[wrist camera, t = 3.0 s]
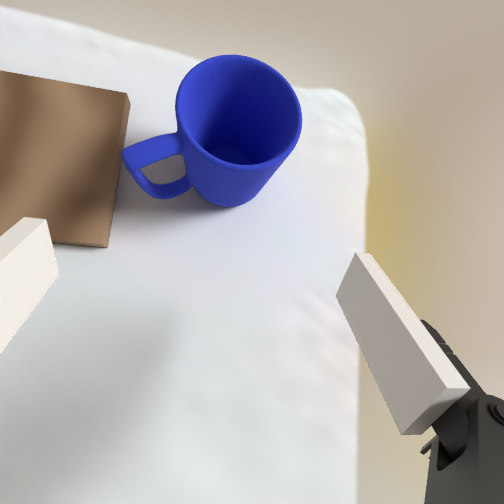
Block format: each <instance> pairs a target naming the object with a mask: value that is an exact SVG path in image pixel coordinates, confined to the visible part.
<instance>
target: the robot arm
mask: <svg viewBox="0 0 504 504" xmlns="http://www.w3.org/2000/svg"><path fill="white" fill-rule="evenodd" d="M59 274H60V273H59V269H58V265H57V261H56V257H55V253H54V249H53V245H52V241H51V237H50V233H49V229H48V225H47V221H46V219H39V218H29V217H24V218H22V219H21V220H20V221H19V222H17V223H16V224H15V225H14V226H13V227H11V228H10V229H9V230H8V231H6V232H5V233H4V234H3V235H1V236H0V354H1V352H2V351H3V350H4V348H5V347H6V346H7V344H8V343H9V342H10V340H11V339H12V338H13V336H14V335H15V333H16V332H17V331H18V329H19V328H20V327H21V325H22V324H23V323H24V321H25V320H26V319H27V317H28V316H29V315H30V313H31V312H32V311H33V309H34V308H35V307H36V305H37V304H38V303H39V301H40V300H41V299H42V297H43V296H44V295H45V293H46V292H47V291H48V289H49V288H50V287H51V285H52V284H53V283H54V281H55V280H56V278H57V277H58V276H59ZM336 298H337V300H338V302H339V304H340V306H341V308H342V310H343V312H344V315H345V317H346V319H347V321H348V323H349V325H350V327H351V329H352V332H353V334H354V336H355V338H356V340H357V342H358V344H359V346H360V349H361V351H362V353H363V355H364V357H365V359H366V361H367V363H368V366H369V368H370V370H371V372H372V374H373V376H374V378H375V380H376V382H377V384H378V387H379V389H380V391H381V393H382V395H383V397H384V399H385V401H386V403H387V406H388V408H389V410H390V412H391V414H392V416H393V419H394V421H395V423H396V425H397V427H398V429H399V431H400V433H401V435H414V434H415V435H419V434H420V435H421V434H422V433H424V432H425V431H426V430H427V429H428V428H429V427H430V426H431V425H432V427H433V429H434V431H435V432H436V434H437V435H436V436H435V437H434V438H433V439H431V440H430V441H429V442H428V443H427V444H426V445H425V446H423V448H422V449H421V452H420V453H422V454H425V453H426V452H427V451H428V450H430V449H431V454H430V457H429V459H430V462H429V470H428V479H427V487H426V494H425V503H424V504H504V400H502V399H500V398H497V397H495V396H493V395H487V394H486V393H485V392H484V391H483V390H482V389H481V387H480V386H479V385H478V383H477V382H476V381H475V379H474V378H473V377H472V376H471V374H470V373H469V372H468V370H467V369H466V368H465V367H464V365H463V364H462V363H461V362H460V360H459V359H458V358H457V356H456V355H454V354H453V351H452V350H451V349H450V347H449V346H448V345H446V344H445V343H446V342H445V341H444V340H443V338H442V337H441V336H440V335H439V333H438V332H437V331H436V330H435V329H434V328H432V326H430V325H429V324H428V323H427V322H425V321H424V320H419V319H418V317H417V316H416V315H415V313H414V312H413V311H412V309H411V308H410V307H409V305H408V304H407V302H406V301H405V300H404V298H403V297H402V296H401V294H400V293H399V292H398V290H397V289H396V288H395V286H394V285H393V284H392V282H391V281H390V280H389V278H388V277H387V276H386V274H385V273H384V272H383V270H382V269H381V268H380V266H379V265H378V264H377V262H376V261H375V260H374V258H373V257H372V256H371V254H366V253H357V252H355V254H354V257H353V259H352V261H351V263H350V265H349V268H348V270H347V272H346V274H345V276H344V278H343V281H342V283H341V285H340V287H339V289H338V292H337V294H336Z"/></svg>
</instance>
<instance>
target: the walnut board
mask: <svg viewBox="0 0 504 504" xmlns="http://www.w3.org/2000/svg"><path fill="white" fill-rule="evenodd" d="M129 110H130V102H129V99H128V96H127V93H123V92H118V91H112V90H106V89H101V88H95V87H90V86H84V85H79V84H73V83H67V82H62V81H56V80H51V79H45V78H39V77H34V76H28V75H23V74H17V73H11V72H6V71H0V236H1V235H3V234H4V233H5V232H6V231H8V230H9V229H10V228H11V227H13V226H14V225H15V224H16V223H17V222H19V221H20V220H21V219H22V218H24V217H29V218H39V219H46V221H47V225H48V229H49V233H50V237H51V241H52V243H62V244H73V245H84V246H95V247H106V248H108V242H109V236H110V229H111V223H112V217H113V210H114V204H115V198H116V192H117V185H118V179H119V173H120V167H121V160H122V156H121V153H122V150H123V148H124V141H125V135H126V129H127V123H128V116H129Z"/></svg>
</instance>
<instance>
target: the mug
mask: <svg viewBox="0 0 504 504" xmlns="http://www.w3.org/2000/svg"><path fill="white" fill-rule="evenodd" d="M175 111H176V119H177V132H176V133H171V134H164V135H160V136H156V137H153V138H150V139H147V140H144V141H141V142H138V143H136V144H134V145H131V146H129V147H127V148H125V149H123V150H122V153H121V156H122V159H123V162H124V164H125V166H126V168H127V170H128V171H129V173H130V174H131V175H132V177H133V178H134V179H135V181H136V182H137V183H138V184H139V186H140V187H141V188H142V189H143V190H144V191H145V192H146V193H148V194H149V195H150V196H152V197H154V198H157V199H169V198H173V197H176V196H179V195H181V194H183V193H184V192H186V191H188V190H189V189H190V187H191V186H192V185H194V187H195V188H196V190H197V191H198V192H199V193H200V194H201V196H203V197H204V198H205V199H206V200H208V201H209V202H211V203H213V204H216V205H219V206H223V207H234V206H239V205H242V204H244V203H246V202H248V201H250V200H251V199H252V198H254V197H255V196H256V195H257V194H258V192H259V191H260V190H261V189H262V187H263V186H264V185H265V184H266V183H267V181H268V180H269V179H270V178H271V176H272V175H273V174H274V173H275V171H276V170H277V169H278V168H279V167H280V165H281V164H282V163H283V162H284V160H285V159H286V158H287V157H288V155H289V154H290V153H291V152H292V150H293V149H294V147H295V146H296V144H297V142H298V139H299V137H300V133H301V128H302V112H301V107H300V104H299V101H298V98H297V96H296V94H295V92H294V90H293V89H292V87H291V86H290V84H289V83H288V82H287V80H286V79H285V78H284V77H283V76H282V75H281V74H280V73H278V72H277V71H276V70H275V69H273V68H272V67H270V66H269V65H267V64H265V63H263V62H261V61H259V60H256V59H254V58H250V57H247V56H241V55H222V56H216V57H212V58H210V59H207V60H205V61H202V62H201V63H199V64H197V65H196V66H195V67H193V68H192V69H191V70H190V71H189V72H188V73H187V74H186V76H185V77H184V79H183V80H182V82H181V84H180V86H179V89H178V92H177V95H176V101H175ZM177 154H180V155H183V157H184V161H185V166H186V175H185V176H184V177H182V178H181V179H179V180H176V181H174V182H171V183H168V184H162V185H160V184H154V183H152V182H151V181H149V180H148V179H147V178H146V177H145V176H144V174H143V173H142V171H141V170H140V168H142V167H145V166H147V165H149V164H152V163H154V162H157V161H159V160H162V159H165V158H167V157H170V156H173V155H177Z"/></svg>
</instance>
